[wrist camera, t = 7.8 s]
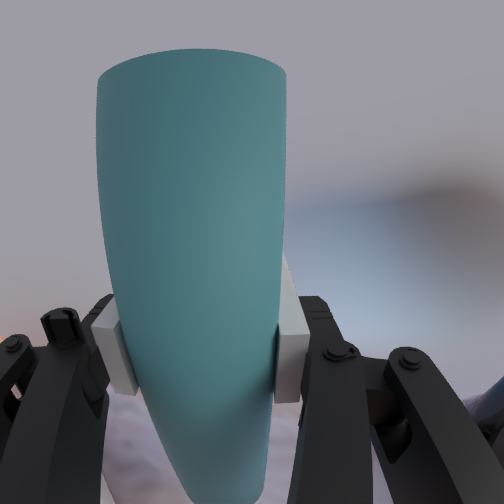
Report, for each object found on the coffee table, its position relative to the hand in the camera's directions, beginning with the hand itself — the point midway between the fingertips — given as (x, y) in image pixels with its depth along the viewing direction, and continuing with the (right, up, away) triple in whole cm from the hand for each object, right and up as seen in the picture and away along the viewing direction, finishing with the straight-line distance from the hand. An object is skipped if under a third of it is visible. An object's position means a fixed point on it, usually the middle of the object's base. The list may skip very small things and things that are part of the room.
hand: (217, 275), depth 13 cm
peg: (0, -12, -1) cm, 12 cm away
